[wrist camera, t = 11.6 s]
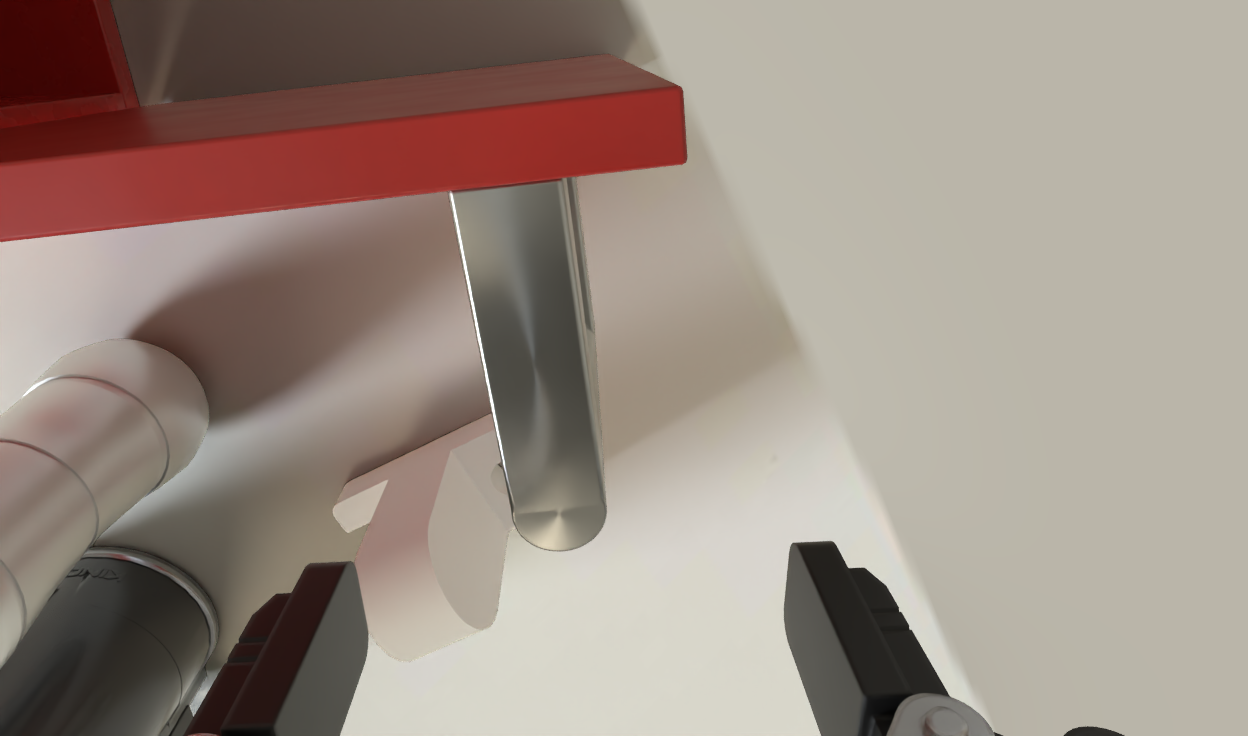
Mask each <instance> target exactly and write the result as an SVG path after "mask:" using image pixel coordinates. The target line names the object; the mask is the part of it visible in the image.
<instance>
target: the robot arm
mask: <svg viewBox="0 0 1248 736" xmlns="http://www.w3.org/2000/svg"><path fill="white" fill-rule="evenodd" d="M784 623H785V630H786V635H787V640H788V643H789V646H790V649H791V652H792V655H793V657H794V660H795V663H796V666H797V669H798V671H799V674H800V677H801V680H802V683H803V686H804V688H805V691H806V694H807V697H808V700H809V702H810V705H811V708H812V711H813V714H814V717H815V719H816V722H817V725H818V728H819V731H820V733H821V736H1003V735H1000V734H997V733H995V732H993V731H992V729H991V727H990V726H989V724H988V723H987V722H986V720H985V719H984V718H983V717H982V716H981V715H980V714H979V713H977V712H976V711H975V710H974V709H972V708H971V707H969V706H968V705H966V704H965V703H963V702H961V701H959V700H957V699H954V698H951V697H950V696H949V694H948V692H947V691H946V689H945V687H944V685H943V684H942V682H941V680H940V679H939V677H938V675H937V673H936V672H935V670H934V668H933V666H932V665H931V663H930V661H929V659H928V658H927V656H926V654H925V652H924V651H923V649H922V647H921V645H920V644H919V642H918V640H917V639H916V637H915V635H914V633H913V632H912V630H910V629H909V625H908V623H907V621H906V619H905V618H904V616H903V614H902V612H899V607H898V606H897V604H896V602H895V600H894V599H893V597H892V595H891V593H890V592H889V590H888V588H887V586H886V585H884V584H883V583H882V582H881V581H880V580H878V579H877V578H876V577H875V576H874V575H873V574H871V573H870V572H869V571H868V570H867V569H865V568H848V567H847V565H846V563H845V561H844V559H843V557H842V555H841V553H840V552H839V550H838V548H837V546H836V544H835V543H834V542H832V541H823V542H801V543H792V545H791V547H790V551H789V561H788V571H787V582H786V592H785V602H784ZM218 634H219V624H218V618H217V614H216V611H215V609H214V606H213V605H212V603H211V601H210V599H209V598H208V596H207V595H206V593H205V592H204V591H203V589H202V588H201V587H200V586H199V585H198V584H197V583H196V582H195V581H194V580H193V579H192V578H191V577H189V576H188V575H187V574H186V573H184V572H183V571H181V570H180V569H178V568H177V567H175V566H174V565H172V564H170V563H168V562H166V561H164V560H162V559H160V558H157V557H155V556H152V555H149V554H147V553H143V552H140V551H136V550H131V549H126V548H119V547H90V548H89V549H88V551H87V552H85V553H84V555H83V556H82V557H81V559H80V560H79V561H78V563H77V564H76V565H75V566H74V567H73V568H72V570H71V571H70V572H69V573H68V574H67V576H66V577H65V578H64V579H63V580H62V582H61V583H60V584H59V585H58V587H57V588H56V590H55V591H54V593H53V594H52V595H51V597H50V598H49V600H48V601H47V603H46V604H45V606H44V607H43V609H42V610H41V612H40V613H39V615H38V616H37V618H36V619H35V621H34V622H33V624H32V625H31V627H30V628H29V630H28V631H27V633H26V634H25V636H24V637H23V639H22V640H21V642H20V643H19V644H18V645H17V647H16V649H15V651H14V652H13V654H12V655H11V656H10V657H9V659H8V660H7V661H6V663H5V664H4V665H3V666H2V668H1V669H0V736H340V733H341V730H342V727H343V725H344V722H345V719H346V716H347V713H348V710H349V707H350V705H351V702H352V699H353V696H354V693H355V690H356V687H357V684H358V682H359V679H360V676H361V673H362V670H363V667H364V664H365V661H366V656H367V650H368V626H367V621H366V616H365V610H364V605H363V600H362V595H361V590H360V585H359V579H358V574H357V570H356V567H355V565H354V563H353V562H351V561H350V562H328V563H310V564H308V565H307V566H306V567H305V569H304V571H303V572H302V574H301V576H300V578H299V580H298V582H297V584H296V586H295V588H294V589H293V591H292V593H284V594H276V595H275V596H273V597H272V598H271V599H270V600H269V601H268V602H267V603H266V604H264V605H263V606H262V607H261V608H260V609H259V610H258V611H257V612H255V613H254V614H253V615H252V617H251V619H250V620H249V622H248V624H247V625H246V627H245V629H244V631H243V632H242V634H241V636H240V638H239V643H237V644H236V645H235V646H234V648H233V650H232V651H231V653H230V655H229V657H228V661H227V663H225V664H224V665H223V667H222V669H221V671H220V672H219V674H218V676H217V678H216V679H215V681H214V683H213V684H212V686H211V688H210V690H209V691H208V693H207V695H206V697H205V698H204V700H203V702H202V704H201V705H200V707H199V709H198V710H197V712H196V714H195V716H194V717H193V715H192V712H191V709H190V707H189V706H190V704H191V702H192V701H193V699H194V697H195V696H196V694H197V692H198V690H199V689H200V687H201V685H202V683H203V682H204V680H205V678H206V677H207V673H206V670H205V667H204V666H205V664H206V663H207V661H208V659H209V658H210V656H211V654H212V653H213V651H214V649H215V646H216V644H217V640H218ZM1064 736H1124V735H1122V734H1119V733H1117V732H1114V731H1111V730H1108V729H1104V728H1098V727H1088V726H1087V727H1078V728H1075V729H1072V730H1070V731H1068V732H1067V733H1066V734H1065V735H1064Z"/></svg>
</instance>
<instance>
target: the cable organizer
mask: <svg viewBox="0 0 1248 736" xmlns="http://www.w3.org/2000/svg"><path fill="white" fill-rule="evenodd" d="M500 462H501V458H500V453H499V448H498V443H497V438H496V433H495V428H494V423H493V418H492V413H490V414H488V415H486V416H484V417H482V418H480V419H478V420H476V421H474V422H472V423H470V424H467V425H465V426H463V427H461V428H459V429H457V430H455V431H453V432H451V433H449V434H447V435H445V436H443V437H440V438H438V439H436V440H434V441H432V442H430V443H428V444H426V445H424V446H422V447H420V448H418V449H416V450H413V451H411V452H409V453H407V454H405V455H403V456H401V457H399V458H397V459H395V460H393V461H391V462H389V463H386V464H384V465H382V466H380V467H378V468H376V469H374V470H372V471H370V472H368V473H366V474H364V475H361V476H359V477H357V478H355V479H353V480H351V481H349V482H348V483H346V485H345V486H344V488H343V490H342V492H341V494H340V496H339V498H338V500H337V502H336V504H335V506H334V508H333V511H332V513H333V516H334V518H335V519H336V520H337V522H338V523H339V524H340V525H341V526H342V528H343V529H344V530H345V531H346V533H349V532H351V531H354V530H356V529H358V528H360V527H362V526H364V525H366V524H368V523H370V524H369V526H368V528H367V531H366V533H365V535H364V538H363V540H362V542H361V545H360V547H359V549H358V552H357V555H356V558H355V562H354V565H355V567H356V570H357V574H358V579H359V585H360V590H361V595H362V600H363V605H364V610H365V616H366V621H367V626H368V632H369V633H370V635H371V636H372V638H373V639H374V640H375V642H376V643H377V645H378V646H379V647H380V648H381V649H382V650H383V651H384V652H386V653H387V654H388V655H389V656H390V657H392V658H394V659H396V660H398V661H403V662H411V661H413V660H416V659H418V658H420V657H423V656H425V655H427V654H429V653H432V652H434V651H436V650H439V649H441V648H443V647H445V646H448V645H450V644H452V643H455V642H457V641H459V640H461V639H464V638H466V637H468V636H471V635H473V634H475V633H477V632H480V631H482V630H484V629H487V628H489V627H490V626H491V625H492V624H493V622H494V621H495V618H496V614H497V611H498V604H499V597H500V590H501V582H502V575H503V568H504V561H505V553H506V546H507V539H508V532H510V531H512V530H515V529H516V528H515V525H514V523H513V520H512V515H511V508H510V503H509V498H508V493H507V488H506V483H505V478H504V473H503V469H502V468H501V467H500V466H499V465H498V464H499V463H500Z"/></svg>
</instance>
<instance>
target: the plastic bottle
mask: <svg viewBox="0 0 1248 736" xmlns="http://www.w3.org/2000/svg"><path fill="white" fill-rule="evenodd" d="M208 424H209V406H208V402H207V399H206V395H205V392H204V390H203V387H202V386H201V384H200V382H199V380H198V378H197V377H196V375H195V374H194V373H193V371H192V370H191V369H190V368H189V367H188V366H187V365H186V364H185V363H184V362H183V361H182V360H181V359H179V358H178V357H176V356H175V355H173V354H172V353H170V352H168V351H166V350H164V349H162V348H160V347H157V346H155V345H152V344H148V343H145V342H142V341H138V340H130V339H109V340H105V341H101V342H98V343H95V344H92V345H89V346H86V347H83V348H80V349H77V350H75V351H73V352H71V353H69V354H67V355H65V356H63V357H61V358H60V359H59V360H58V361H57V362H56V363H55V364H53V365H52V366H51V367H50V368H49V369H48V370H47V371H46V372H45V373H44V374H43V375H42V376H40V377H39V378H38V379H37V380H36V381H35V382H34V383H33V385H32V386H31V387H30V388H29V389H28V391H27V392H26V393H25V395H24V396H23V398H21V399H20V400H19V401H18V402H17V403H15V404H14V405H13V406H12V407H11V408H9V409H8V410H7V411H6V412H5V413H3V414H2V415H1V416H0V669H1V668H2V666H3V665H4V664H5V663H6V661H7V660H8V659H9V657H10V656H11V655H12V654H13V652H14V651H15V649H16V647H17V645H18V644H19V643H20V642H21V640H22V639H23V637H24V636H25V634H26V633H27V631H28V630H29V628H30V627H31V625H32V624H33V622H34V621H35V619H36V618H37V616H38V615H39V613H40V612H41V610H42V609H43V607H44V606H45V604H46V603H47V601H48V600H49V598H50V597H51V595H52V594H53V593H54V591H55V590H56V588H57V587H58V585H59V584H60V583H61V582H62V580H63V579H64V578H65V577H66V576H67V574H68V573H69V572H70V571H71V570H72V568H73V567H74V566H75V565H76V564H77V563H78V561H79V560H80V559H81V557H82V556H83V555H84V553H85V552H87V551H88V549H89V548H90V547H91V546H92V545H93V543H94V542H95V541H96V540H97V539H98V537H99V536H100V535H101V534H102V533H103V532H104V531H105V530H106V529H108V528H109V527H110V526H111V525H112V524H113V523H115V522H116V521H117V520H118V519H119V518H120V517H121V516H123V515H124V514H125V513H126V512H127V511H128V510H129V509H131V508H132V507H133V506H134V505H135V504H136V503H137V502H139V501H140V500H141V499H142V498H143V497H145V496H147V495H149V494H151V493H152V492H154V491H155V490H157V489H159V488H160V487H161V486H163V485H164V484H165V483H166V482H168V481H169V480H170V479H172V478H173V477H174V476H175V475H177V474H178V473H179V472H181V471H182V470H183V469H184V468H186V467H187V466H188V464H189V463H190V462H191V460H192V459H193V458H194V456H195V454H196V452H197V451H198V449H199V447H200V445H201V443H202V441H203V439H204V437H205V434H206V432H207V430H208Z"/></svg>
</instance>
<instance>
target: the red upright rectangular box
mask: <svg viewBox="0 0 1248 736" xmlns="http://www.w3.org/2000/svg"><path fill="white" fill-rule="evenodd" d="M135 107H140V106H139V103H138V99H137V95H136V92H135V88H134V85H133V81H132V78H131V74H130V71H129V67H128V63H127V60H126V56H125V53H124V49H123V46H122V42H121V39H120V35H119V31H118V28H117V24H116V21H115V17H114V14H113V10H112V7H111V3H110V0H0V129H1V128H8V127H14V126H20V125H27V124H33V123H40V122H46V121H52V120H59V119H65V118H72V117H78V116H84V115H91V114H97V113H103V112H110V111H116V110H123V109H129V108H135Z"/></svg>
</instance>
